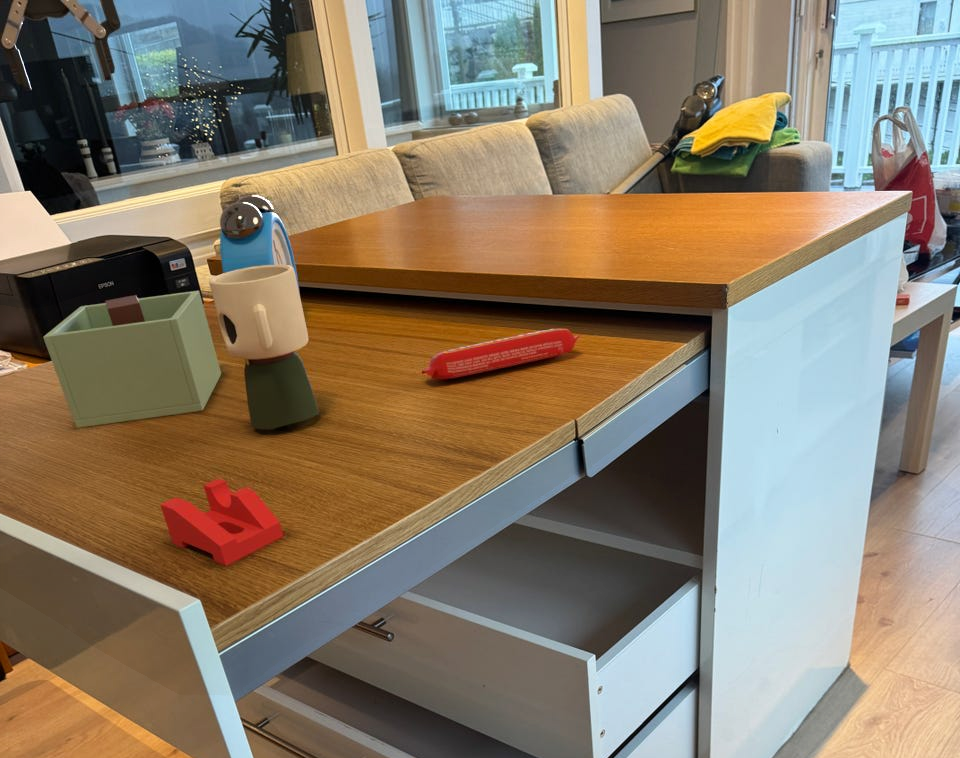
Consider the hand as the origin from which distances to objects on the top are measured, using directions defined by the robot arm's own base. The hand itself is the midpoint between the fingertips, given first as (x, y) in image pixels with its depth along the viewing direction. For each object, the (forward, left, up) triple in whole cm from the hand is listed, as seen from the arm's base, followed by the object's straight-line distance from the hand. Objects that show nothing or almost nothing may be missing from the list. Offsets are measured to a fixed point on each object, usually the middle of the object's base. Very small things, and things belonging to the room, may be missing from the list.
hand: (68, 85), depth 99 cm
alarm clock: (+17, +1, -28) cm, 33 cm away
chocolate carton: (+13, -24, -27) cm, 39 cm away
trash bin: (+13, -24, -28) cm, 39 cm away
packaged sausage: (+49, -20, -28) cm, 60 cm away
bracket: (+35, -56, -28) cm, 72 cm away
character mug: (+31, -33, -28) cm, 53 cm away
